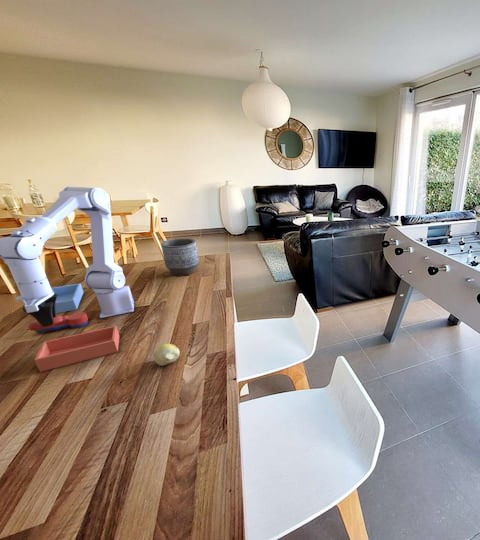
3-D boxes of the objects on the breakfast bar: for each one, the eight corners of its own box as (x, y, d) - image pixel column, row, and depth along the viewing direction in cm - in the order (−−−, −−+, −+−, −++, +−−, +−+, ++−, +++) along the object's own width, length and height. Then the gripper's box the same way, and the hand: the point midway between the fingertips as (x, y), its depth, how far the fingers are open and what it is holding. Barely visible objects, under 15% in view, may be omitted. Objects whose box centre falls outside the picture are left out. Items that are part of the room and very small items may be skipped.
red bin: (119, 336, 92) (116, 325, 90) (117, 351, 85) (114, 340, 83) (48, 353, 83) (43, 341, 82) (40, 372, 76) (34, 360, 75)
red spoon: (27, 335, 79) (23, 327, 78) (32, 327, 82) (28, 319, 81) (86, 322, 86) (84, 315, 85) (89, 316, 89) (86, 308, 88)
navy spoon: (34, 337, 89) (31, 330, 88) (38, 330, 93) (35, 323, 92) (87, 325, 96) (84, 319, 95) (88, 319, 99) (86, 313, 98)
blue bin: (52, 297, 112) (48, 288, 110) (83, 292, 117) (80, 283, 115) (41, 316, 100) (36, 306, 98) (77, 309, 105) (73, 299, 103)
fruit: (178, 346, 89) (185, 359, 81) (157, 359, 85) (163, 374, 78) (168, 332, 86) (174, 344, 79) (146, 345, 83) (150, 358, 76)
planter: (202, 273, 140) (197, 244, 134) (168, 279, 132) (161, 248, 126) (198, 264, 150) (193, 236, 145) (166, 268, 143) (160, 240, 137)
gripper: (18, 273, 81) (37, 314, 86) (-1, 293, 70) (21, 340, 75) (53, 269, 85) (69, 309, 90) (40, 287, 74) (58, 332, 79)
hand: (49, 322), depth 83 cm, fingers closed on red spoon, 2 cm apart
